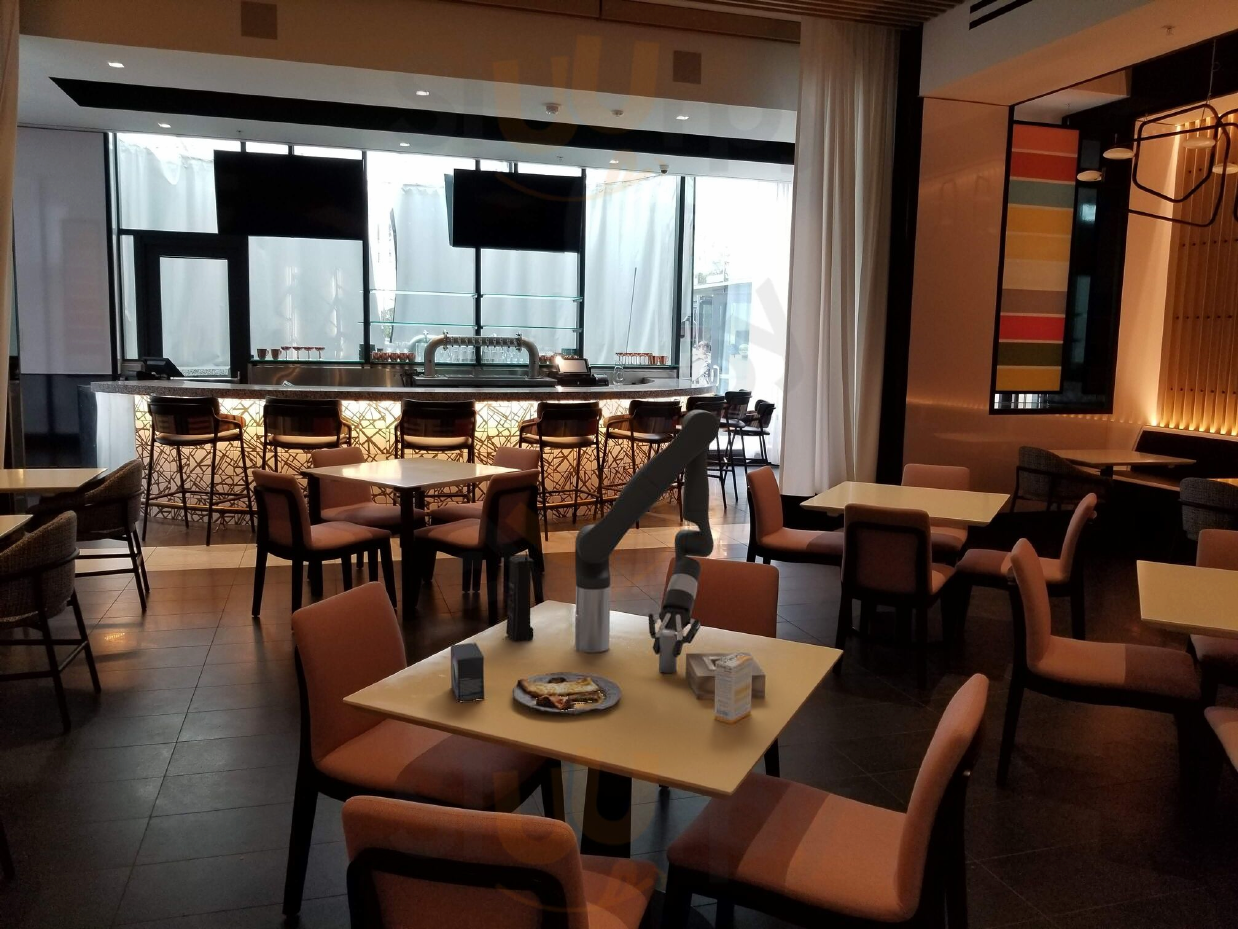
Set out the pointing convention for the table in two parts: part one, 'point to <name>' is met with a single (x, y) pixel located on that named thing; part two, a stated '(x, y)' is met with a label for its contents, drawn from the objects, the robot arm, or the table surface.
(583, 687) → the food plate
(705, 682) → the socket block
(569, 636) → the table surface
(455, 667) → the small box
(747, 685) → the supplement box
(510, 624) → the portable radio
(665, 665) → the grey bottle
